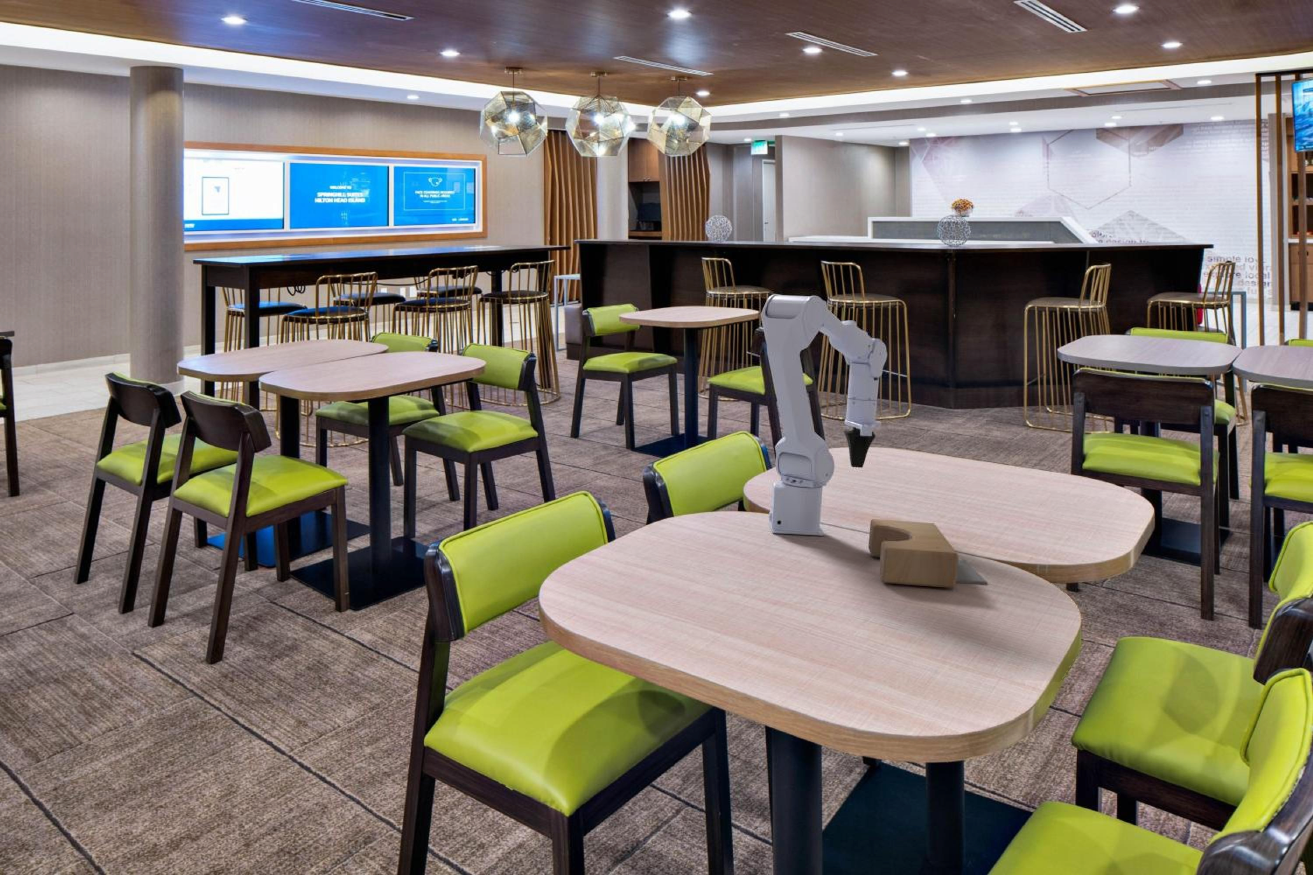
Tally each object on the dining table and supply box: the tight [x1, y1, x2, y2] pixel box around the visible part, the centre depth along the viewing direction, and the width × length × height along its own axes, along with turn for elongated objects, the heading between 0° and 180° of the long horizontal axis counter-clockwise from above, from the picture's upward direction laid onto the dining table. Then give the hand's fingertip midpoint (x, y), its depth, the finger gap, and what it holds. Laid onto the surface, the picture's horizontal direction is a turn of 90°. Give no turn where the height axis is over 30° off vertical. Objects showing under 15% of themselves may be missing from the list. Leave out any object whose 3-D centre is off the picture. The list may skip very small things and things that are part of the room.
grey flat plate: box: [956, 559, 988, 585], centre depth 154 cm, size 14×12×1 cm
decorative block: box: [867, 518, 959, 589], centre depth 153 cm, size 11×6×20 cm
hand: (856, 466), depth 188 cm, fingers closed
